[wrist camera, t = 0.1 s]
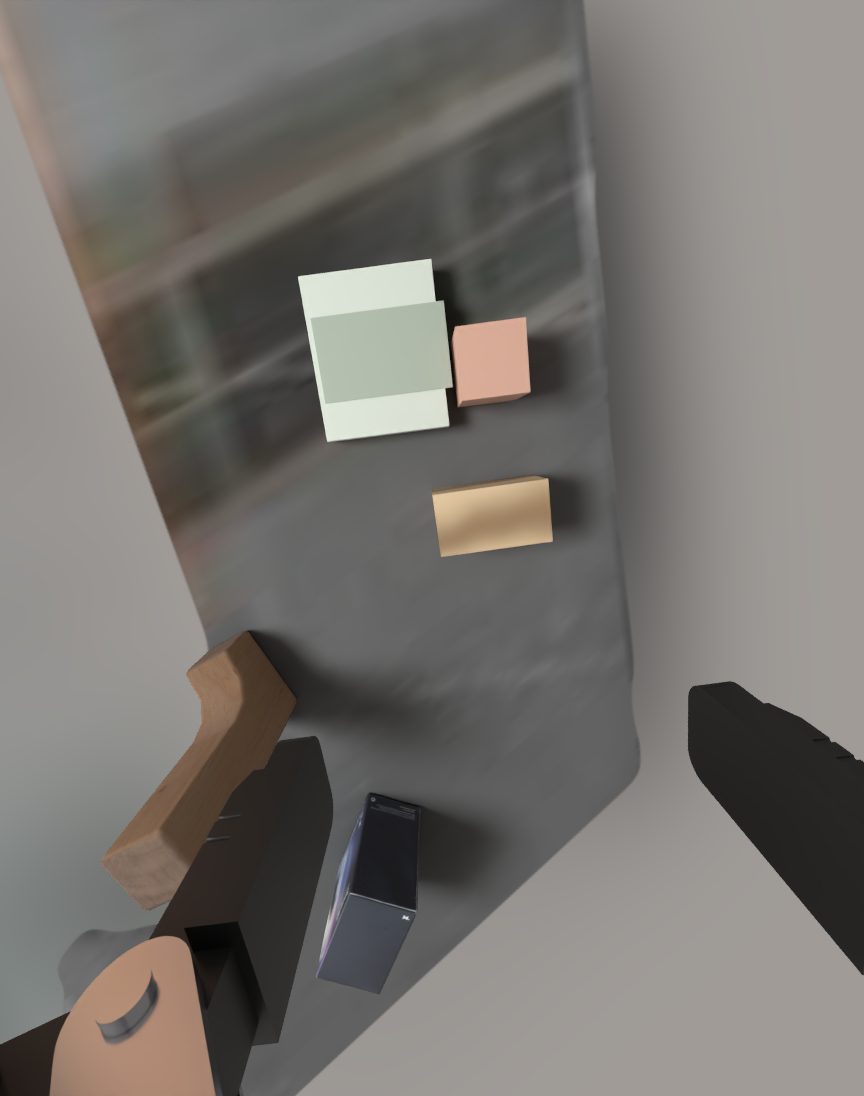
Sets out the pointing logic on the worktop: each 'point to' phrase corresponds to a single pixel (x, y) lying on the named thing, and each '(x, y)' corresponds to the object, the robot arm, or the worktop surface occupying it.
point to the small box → (373, 896)
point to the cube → (490, 362)
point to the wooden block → (204, 769)
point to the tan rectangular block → (493, 515)
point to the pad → (378, 349)
